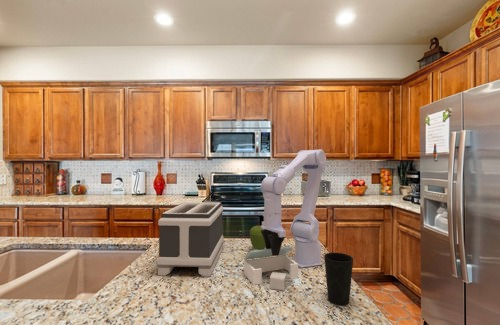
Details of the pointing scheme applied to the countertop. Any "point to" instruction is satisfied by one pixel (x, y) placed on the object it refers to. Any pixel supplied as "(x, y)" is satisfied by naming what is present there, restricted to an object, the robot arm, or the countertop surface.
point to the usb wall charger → (279, 281)
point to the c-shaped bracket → (269, 267)
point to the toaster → (190, 237)
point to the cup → (338, 277)
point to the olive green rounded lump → (257, 238)
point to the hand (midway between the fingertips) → (272, 253)
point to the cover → (266, 252)
